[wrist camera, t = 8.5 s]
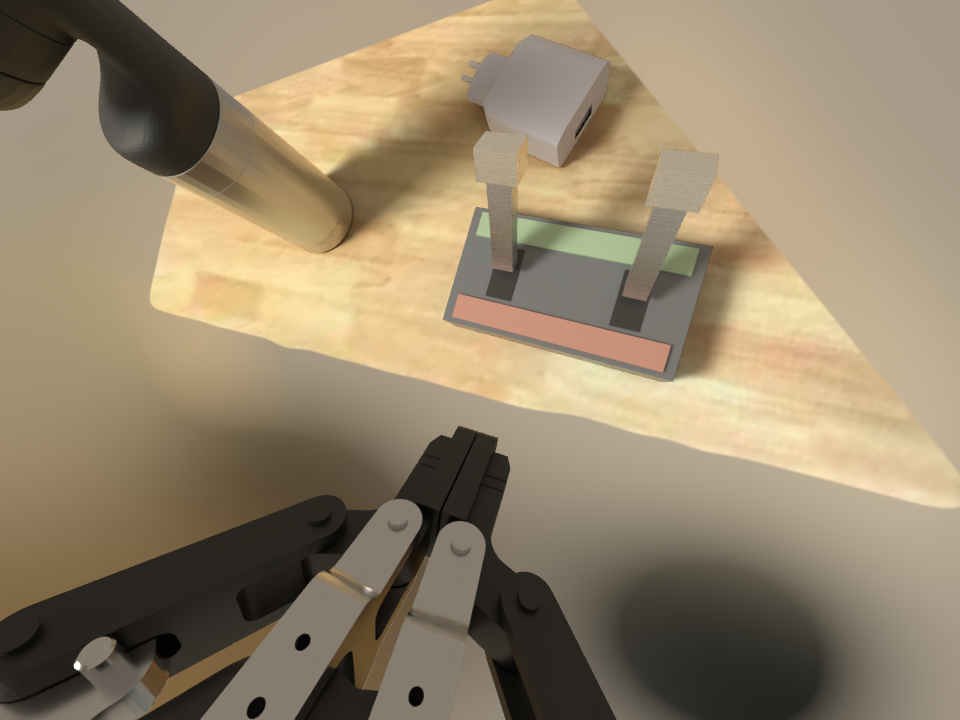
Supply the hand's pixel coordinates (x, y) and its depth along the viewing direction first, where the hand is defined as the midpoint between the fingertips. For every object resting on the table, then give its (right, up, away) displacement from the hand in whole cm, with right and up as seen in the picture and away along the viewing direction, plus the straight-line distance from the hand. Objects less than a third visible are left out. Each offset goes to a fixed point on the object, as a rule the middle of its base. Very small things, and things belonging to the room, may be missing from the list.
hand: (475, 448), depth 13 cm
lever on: (+3, +12, +22) cm, 25 cm away
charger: (+5, +32, +27) cm, 42 cm away
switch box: (+9, +10, +24) cm, 27 cm away
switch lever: (+14, +9, +18) cm, 24 cm away
